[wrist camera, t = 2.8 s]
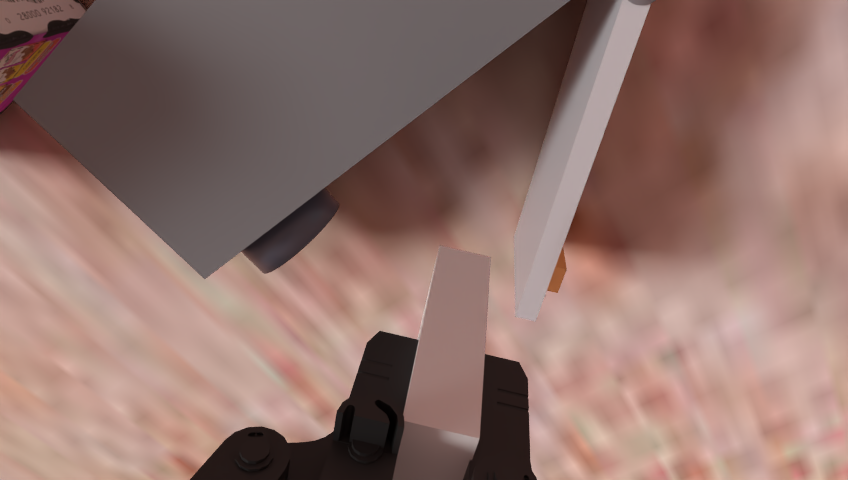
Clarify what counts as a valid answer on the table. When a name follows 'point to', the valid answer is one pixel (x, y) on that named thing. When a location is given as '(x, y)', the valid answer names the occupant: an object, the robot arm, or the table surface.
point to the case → (253, 105)
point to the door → (572, 145)
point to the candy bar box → (30, 38)
